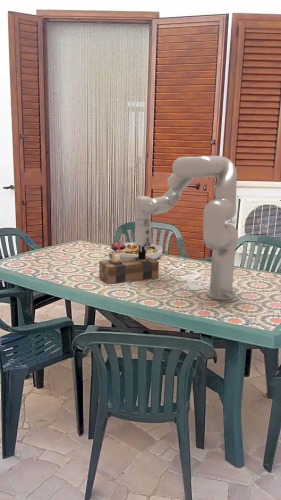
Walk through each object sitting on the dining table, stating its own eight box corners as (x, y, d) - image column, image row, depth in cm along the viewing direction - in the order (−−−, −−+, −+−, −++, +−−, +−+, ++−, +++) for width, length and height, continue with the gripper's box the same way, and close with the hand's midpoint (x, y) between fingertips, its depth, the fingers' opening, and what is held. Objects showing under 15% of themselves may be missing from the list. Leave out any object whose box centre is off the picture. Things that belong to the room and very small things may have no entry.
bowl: (163, 251, 273) (163, 238, 271) (160, 264, 244) (160, 250, 242) (114, 249, 276) (114, 236, 274) (105, 262, 246) (105, 248, 245)
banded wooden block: (158, 277, 220) (158, 261, 218) (108, 284, 208) (108, 267, 206) (147, 271, 230) (147, 256, 228) (99, 276, 219) (99, 260, 217)
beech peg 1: (121, 268, 214) (121, 252, 212) (113, 269, 212) (113, 253, 210) (117, 266, 217) (118, 250, 216) (110, 267, 216) (110, 251, 214)
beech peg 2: (147, 275, 221) (147, 259, 219) (139, 276, 219) (140, 260, 218) (143, 272, 225) (144, 257, 223) (136, 273, 223) (136, 258, 221)
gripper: (157, 224, 211) (155, 262, 215) (143, 219, 224) (141, 254, 228) (142, 225, 208) (141, 263, 212) (129, 219, 221) (128, 256, 225)
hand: (141, 259), depth 220 cm, fingers closed
